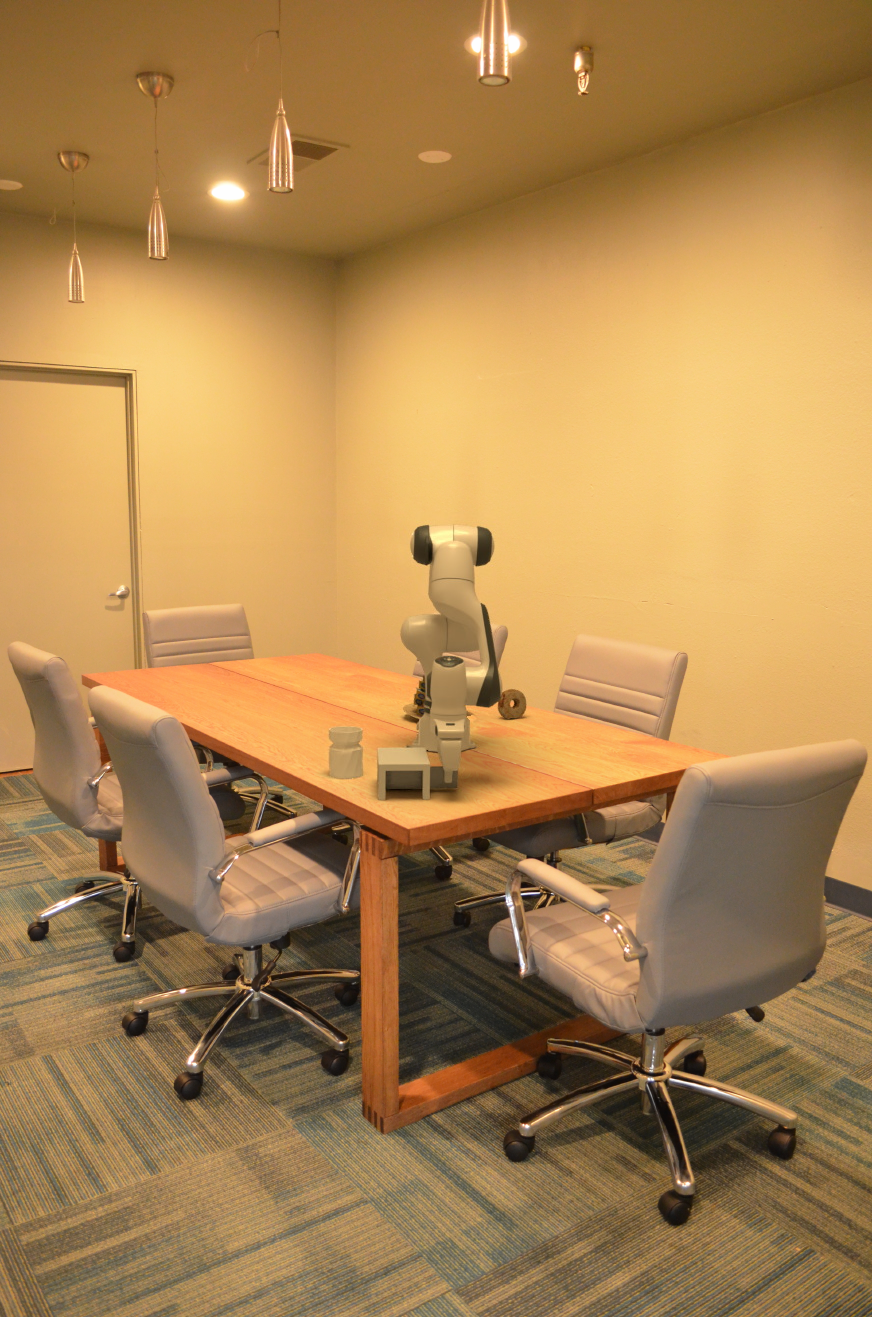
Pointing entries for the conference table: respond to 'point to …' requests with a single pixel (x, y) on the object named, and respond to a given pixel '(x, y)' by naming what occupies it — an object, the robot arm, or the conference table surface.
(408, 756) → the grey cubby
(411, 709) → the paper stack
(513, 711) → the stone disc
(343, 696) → the conference table surface
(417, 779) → the dark grey long block
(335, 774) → the pale lidded jar
